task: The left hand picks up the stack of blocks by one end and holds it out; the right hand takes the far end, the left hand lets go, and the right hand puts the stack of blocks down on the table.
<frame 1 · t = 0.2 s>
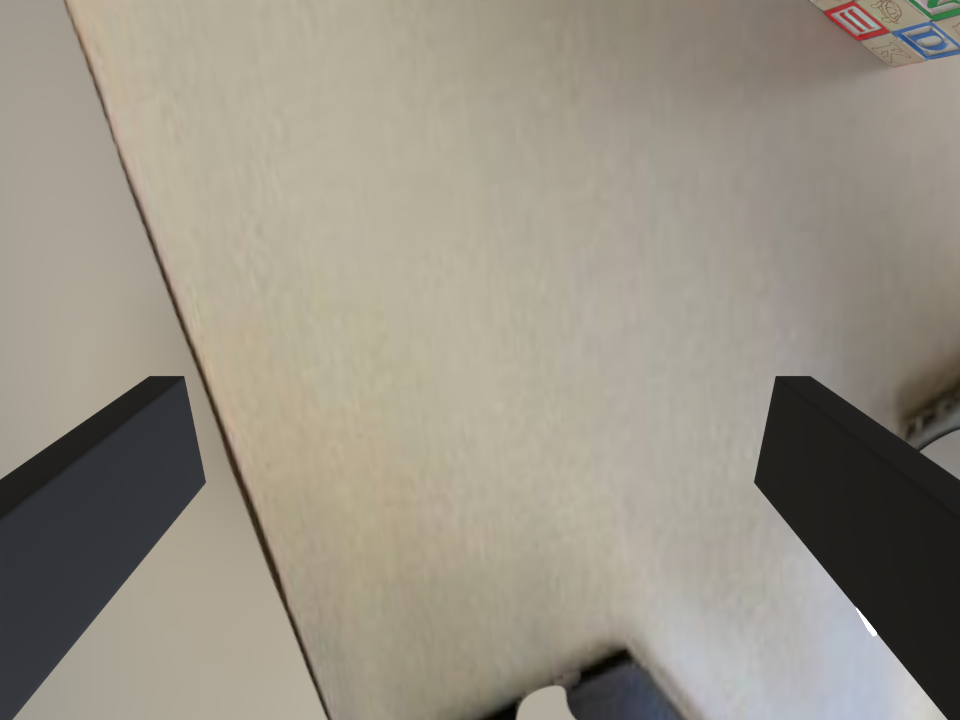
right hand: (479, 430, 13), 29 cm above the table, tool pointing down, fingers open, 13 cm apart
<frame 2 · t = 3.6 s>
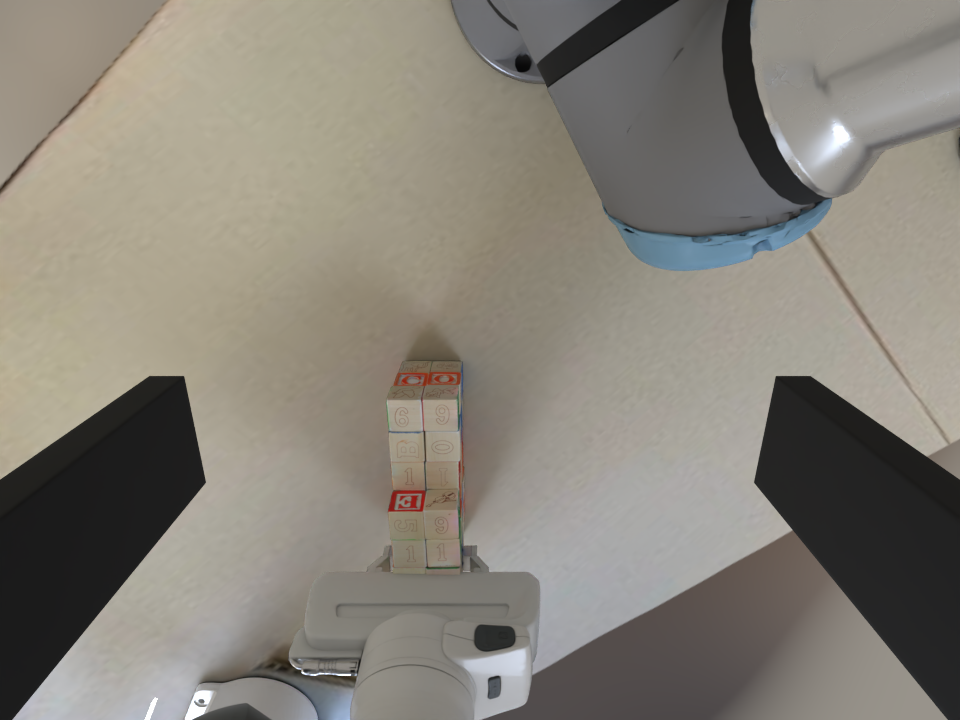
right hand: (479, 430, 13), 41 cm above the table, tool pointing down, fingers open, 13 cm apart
left hand: (432, 550, 55), fingers closed on stack of blocks, 6 cm apart
stack of blocks: (434, 453, 59), on the table, touching left hand
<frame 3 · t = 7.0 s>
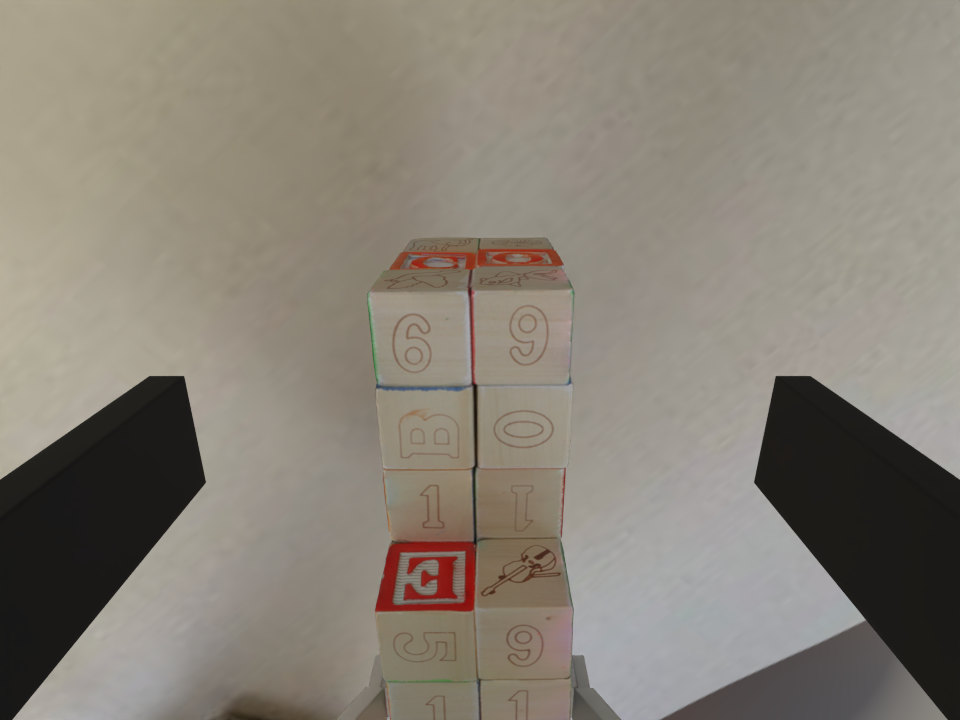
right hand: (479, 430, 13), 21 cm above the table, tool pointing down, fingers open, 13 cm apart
stack of blocks: (479, 445, 29), point 7 cm above the table, touching left hand
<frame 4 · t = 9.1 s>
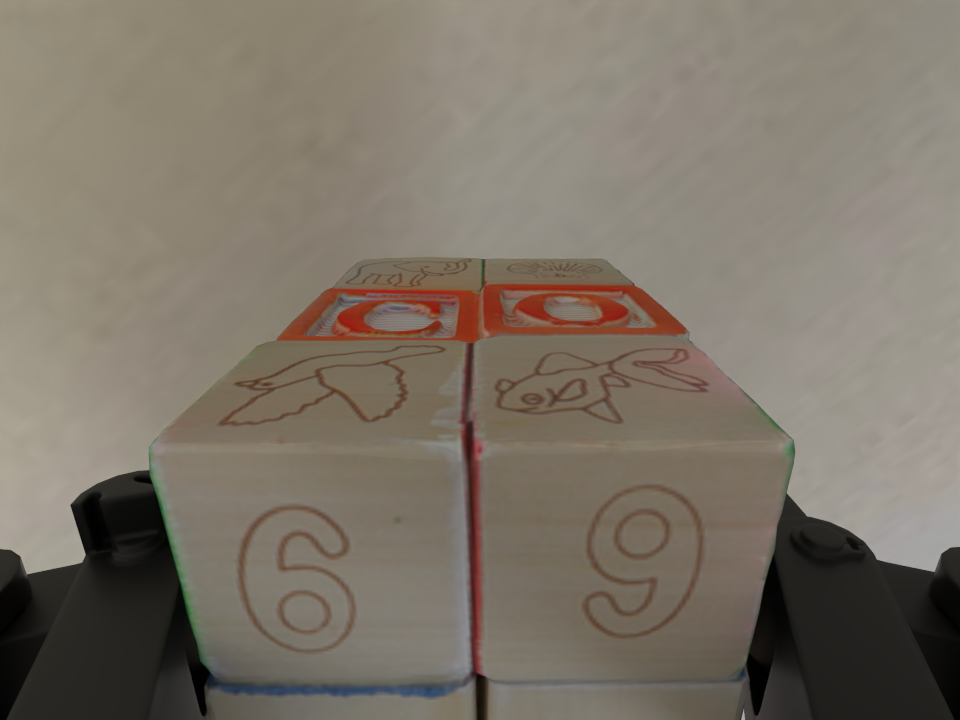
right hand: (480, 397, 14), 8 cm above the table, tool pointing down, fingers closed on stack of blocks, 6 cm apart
stack of blocks: (479, 594, 17), point 7 cm above the table, touching right hand, left hand
when the left hand's fingers open (14 cm above the table, at t = 10.3 s): stack of blocks moves 2 cm, held by the right hand.
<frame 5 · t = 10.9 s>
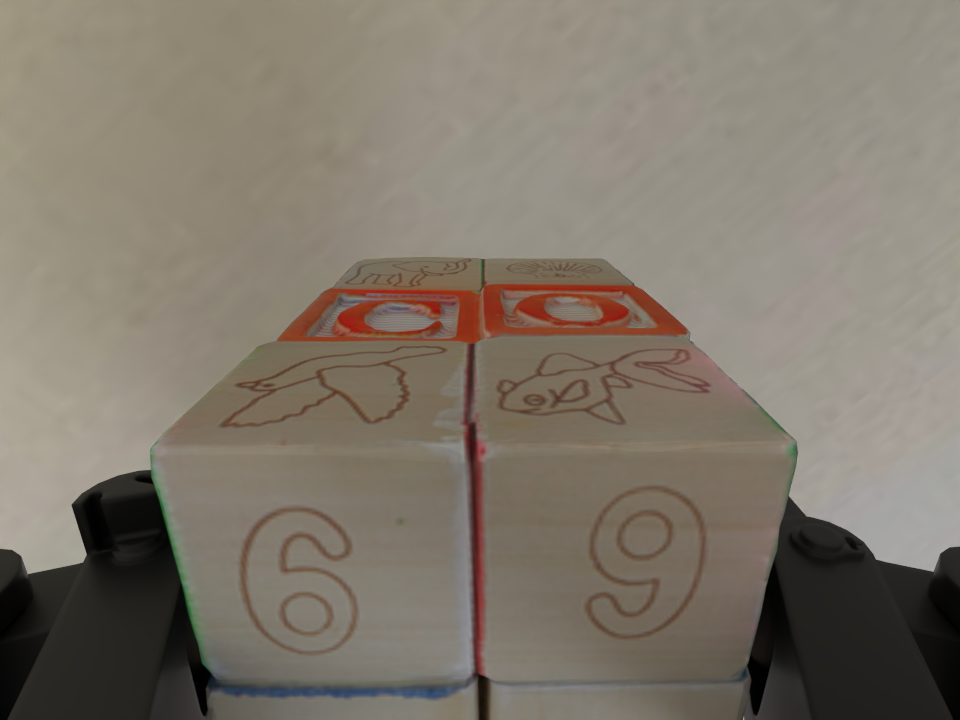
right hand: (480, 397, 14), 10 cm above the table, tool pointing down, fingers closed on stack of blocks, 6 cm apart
stack of blocks: (478, 594, 17), point 9 cm above the table, touching right hand
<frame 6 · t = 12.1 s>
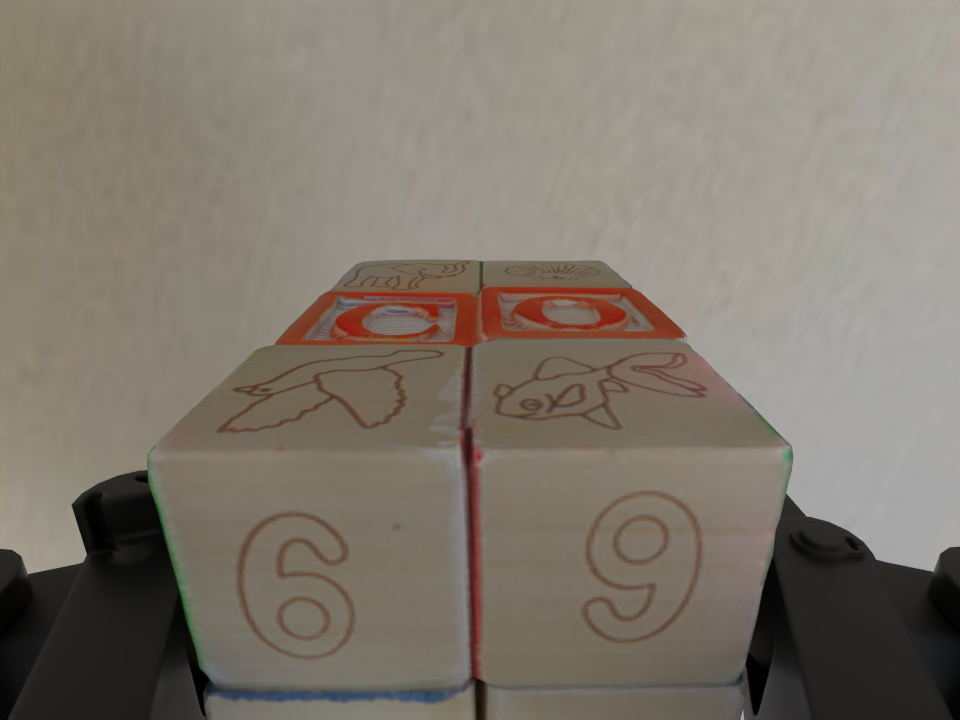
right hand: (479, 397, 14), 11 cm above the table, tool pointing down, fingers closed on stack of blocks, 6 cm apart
stack of blocks: (477, 595, 18), point 10 cm above the table, touching right hand
when the right hand's fingers open (2 cm above the table, at t = 14.9 s): stack of blocks drops 1 cm, on the table.
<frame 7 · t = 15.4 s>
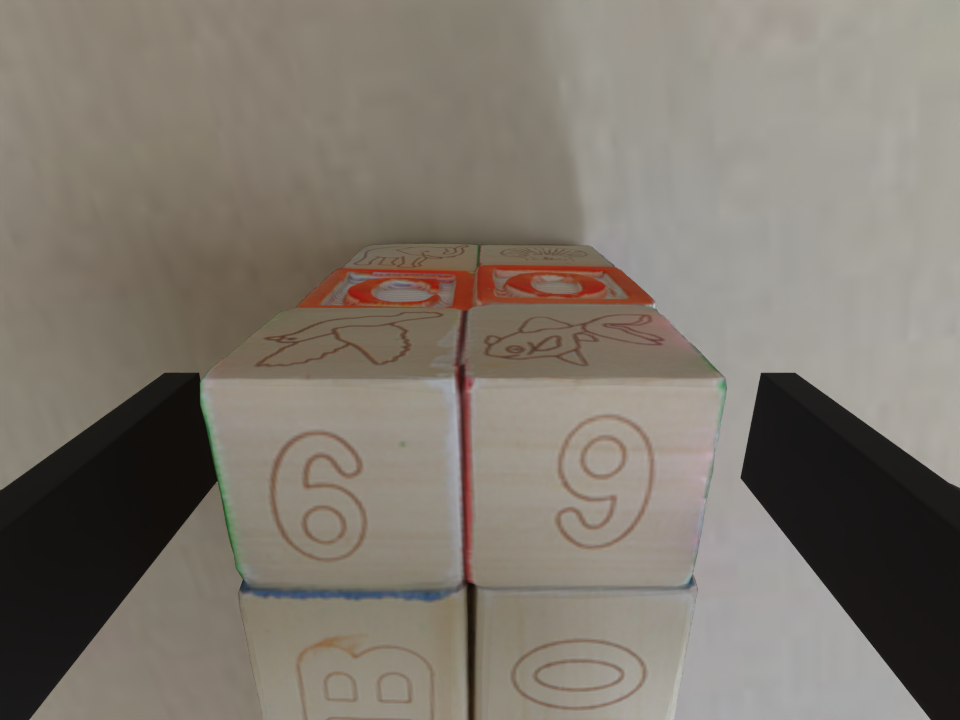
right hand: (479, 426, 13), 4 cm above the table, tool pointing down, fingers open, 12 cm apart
stack of blocks: (475, 562, 19), on the table
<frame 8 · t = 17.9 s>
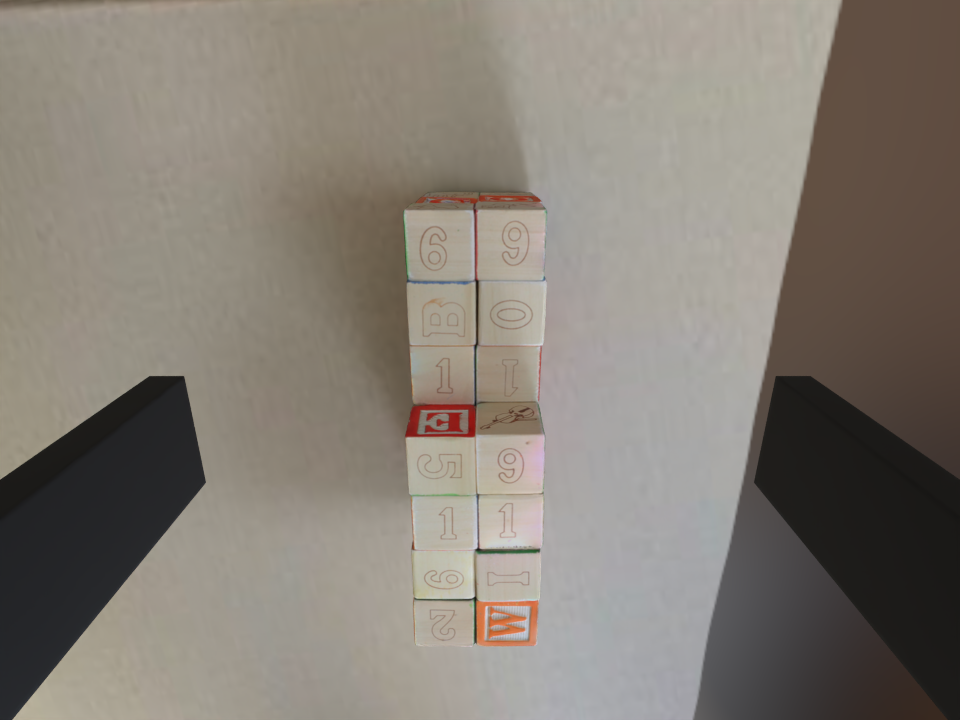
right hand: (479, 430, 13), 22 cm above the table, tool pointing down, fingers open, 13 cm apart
stack of blocks: (477, 364, 36), on the table
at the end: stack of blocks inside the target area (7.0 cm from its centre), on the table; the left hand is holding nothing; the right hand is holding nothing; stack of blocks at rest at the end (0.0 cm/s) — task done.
